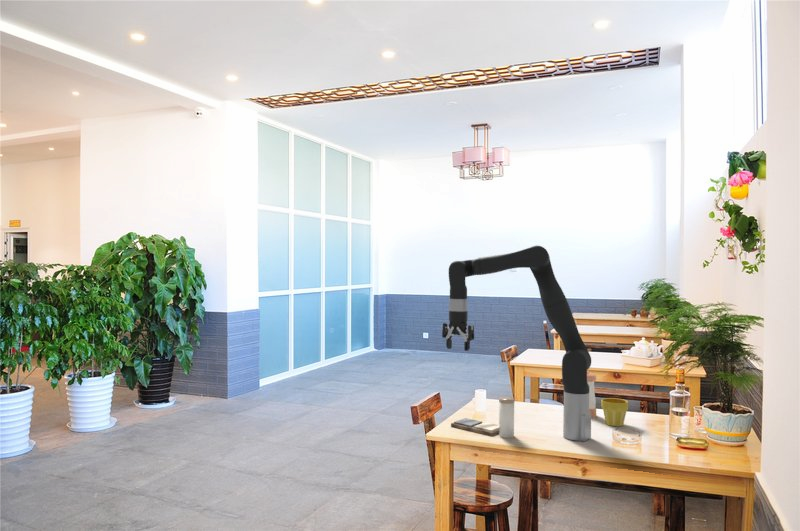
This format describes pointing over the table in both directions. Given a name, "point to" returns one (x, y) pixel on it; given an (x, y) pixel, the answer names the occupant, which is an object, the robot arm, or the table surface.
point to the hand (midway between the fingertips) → (457, 349)
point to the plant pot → (614, 411)
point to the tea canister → (506, 417)
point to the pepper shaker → (591, 393)
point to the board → (476, 426)
